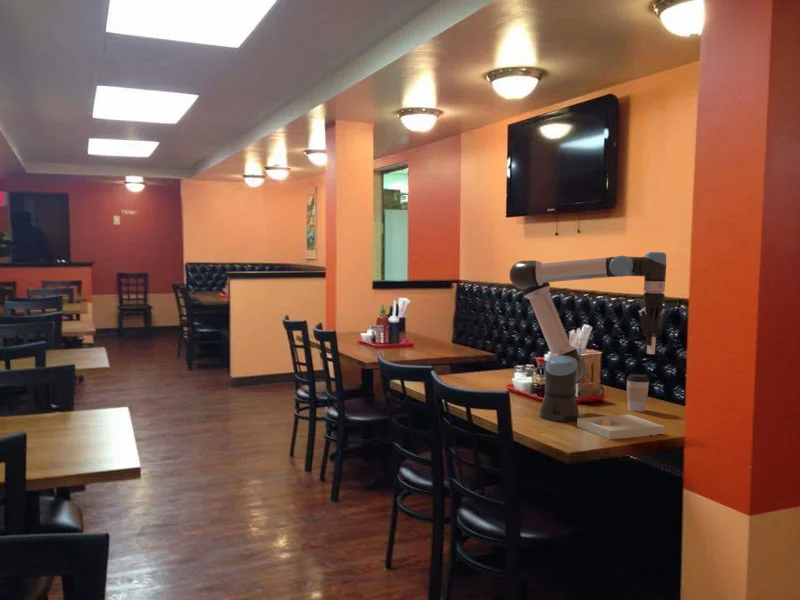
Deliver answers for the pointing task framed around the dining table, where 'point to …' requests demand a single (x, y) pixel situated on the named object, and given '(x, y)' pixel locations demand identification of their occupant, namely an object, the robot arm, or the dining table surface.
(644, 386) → the coffee cup
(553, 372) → the robot arm
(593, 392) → the tin
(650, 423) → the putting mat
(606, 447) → the dining table surface
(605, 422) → the ball
